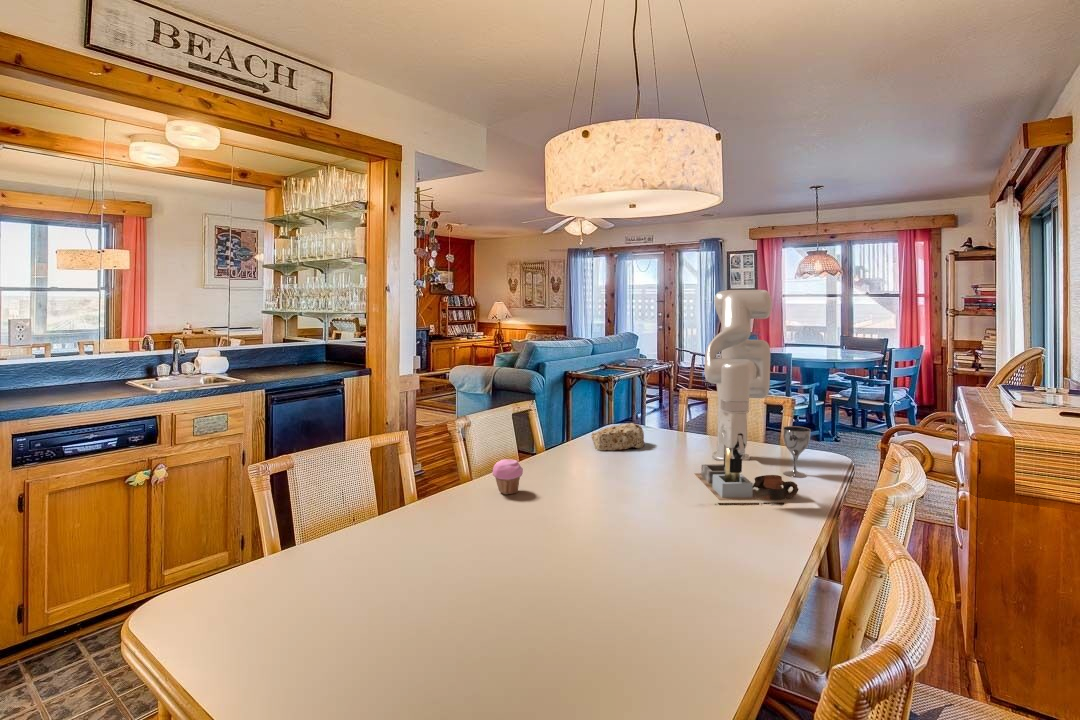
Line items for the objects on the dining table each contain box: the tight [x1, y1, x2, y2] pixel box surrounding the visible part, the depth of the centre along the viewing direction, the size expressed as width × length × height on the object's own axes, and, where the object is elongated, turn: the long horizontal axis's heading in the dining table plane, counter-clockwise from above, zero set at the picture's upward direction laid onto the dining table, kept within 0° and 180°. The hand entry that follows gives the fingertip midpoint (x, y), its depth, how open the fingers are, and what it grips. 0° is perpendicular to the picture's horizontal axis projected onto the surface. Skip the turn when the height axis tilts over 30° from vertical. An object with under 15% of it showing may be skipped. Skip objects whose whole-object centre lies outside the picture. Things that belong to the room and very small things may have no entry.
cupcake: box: [492, 458, 524, 495], centre depth 163 cm, size 9×9×10 cm
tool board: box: [694, 463, 760, 506], centre depth 164 cm, size 24×11×5 cm, turn 1°
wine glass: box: [782, 425, 811, 479], centre depth 179 cm, size 8×8×15 cm
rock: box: [591, 422, 645, 452], centre depth 216 cm, size 21×14×10 cm
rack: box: [712, 473, 754, 498], centre depth 158 cm, size 8×8×4 cm
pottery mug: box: [753, 474, 800, 506], centre depth 156 cm, size 12×10×8 cm
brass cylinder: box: [725, 445, 741, 482], centre depth 158 cm, size 4×4×12 cm
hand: (732, 469), depth 158 cm, fingers closed on brass cylinder, 3 cm apart
